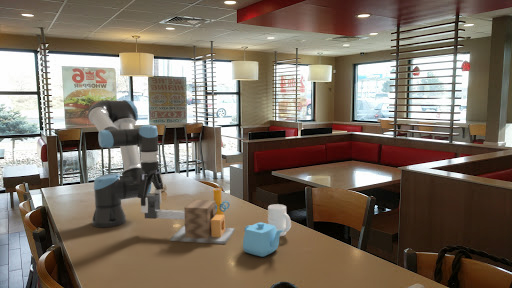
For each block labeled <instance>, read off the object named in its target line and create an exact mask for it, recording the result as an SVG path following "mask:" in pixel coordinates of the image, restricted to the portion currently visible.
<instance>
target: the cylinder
mask: <svg viewBox="0 0 512 288" xmlns="http://www.w3.org/2000/svg"><path fill="white" fill-rule="evenodd" d="M212 192H213V193H212V196H213V197H212V198H213V200H210V201H215V203H216V215H225V212H226V210H227V209H229V208H230V201H227V200H224V201H223V198H222V197H223V196H222V188H219V187H216V188H213V189H212ZM226 204H227V206H226Z"/></svg>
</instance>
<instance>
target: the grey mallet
mask: <svg viewBox="0 0 512 288" xmlns="http://www.w3.org/2000/svg"><path fill="white" fill-rule="evenodd" d="M146 198H147V202H148V213H144V219H151V220H152V219H154V220H156V219H167V220H169V219H171V220H185V213H184V209H183V210H180V209H177V210H176V209H161V204H160V198H159V194H156V193H155V192H154V193H153V192H152V193H151V192H150V193H148V194H147V196H146Z"/></svg>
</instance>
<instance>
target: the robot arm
mask: <svg viewBox="0 0 512 288" xmlns="http://www.w3.org/2000/svg"><path fill="white" fill-rule="evenodd" d="M136 105H137V104H135V102H134V101H132V100H128V99H127V100H126V99H122V100H99V101H97V102H95V103H93V104H92V105H91V106H90V107H89V109H88V111H87V118H88V121H89V122H90V123H91V124H92V125H94V126H95V128H96V129H97V131H98V135H97V136H98V138H97V139H98V144H99V147H100V148H108V149H109V148H117V147H119V148H120V154H121V159H122V164H123V171H122V172H121V175H120V173H117V172H113V173H110V172H109V173H107V174H102V175H99V176H97V177H96V178H95V179H94V181H93V190H94V204H95V206H94V207H95V209H94V213H93V216H92V221H91V222H92V225H93V227H96V228H109V227H110V228H111V227H117V226H119V225H122V224H124V223H125V222H126V221H127V218H126V213H125V212H124V211H125V210H124V209H123V206H122V200H127V199H129V200H130V199H135V198H138V199H140V213H142V214H143V213H144V214H145V213H148V202H147V198H146V196H147V194H148V193H151V190H152V186H154V188H155V189H154V193H156V194H159V198H160V205H161V204H162V190H163V189H164V183H163V180H162V176H161V172H160V162H159V155H160V153H159V136H158V135H159V133H158V127H157V125H152V124H147V125H141V126H140V127H136V128H135V125H136V122H137V121H138V118H139V114H138V108H137V106H136ZM138 147H140V150H139V148H138ZM139 151H140V152H139ZM152 184H153V185H152Z"/></svg>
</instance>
